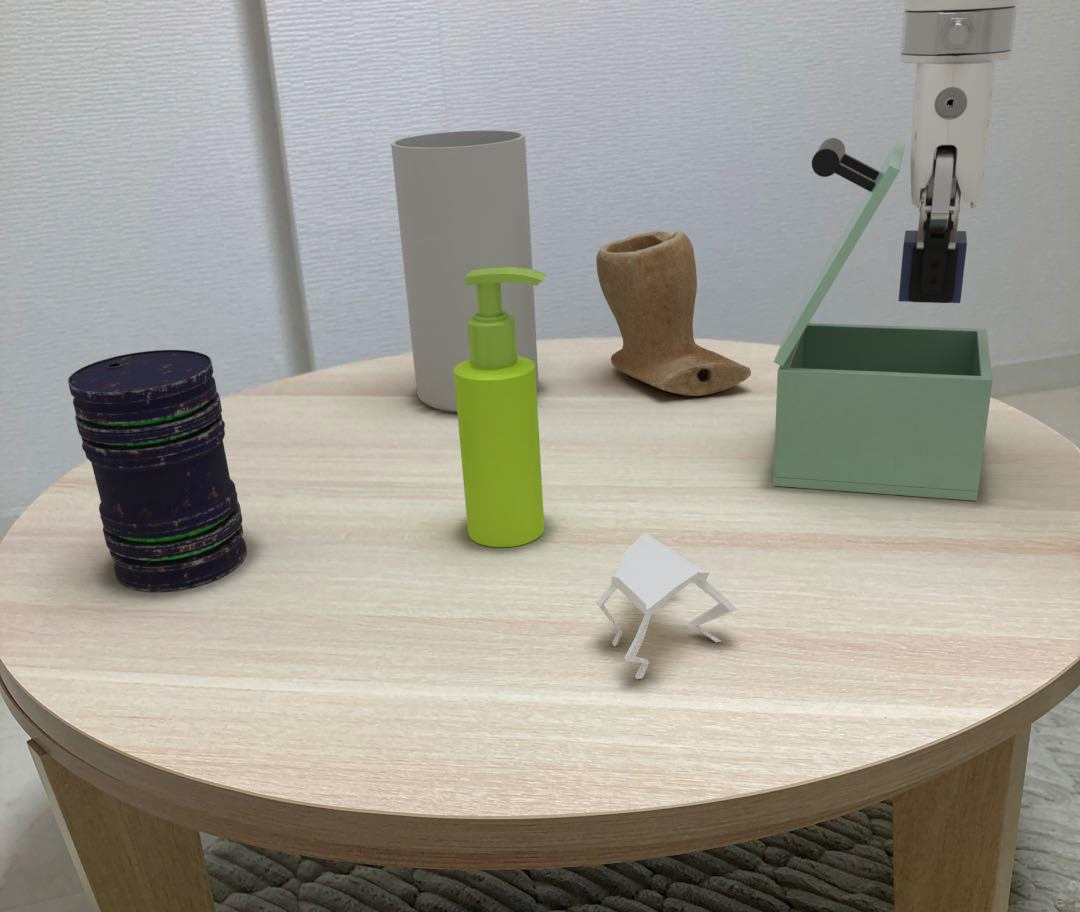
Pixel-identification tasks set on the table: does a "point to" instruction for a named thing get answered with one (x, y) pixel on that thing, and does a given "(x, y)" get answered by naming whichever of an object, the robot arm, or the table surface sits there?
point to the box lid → (824, 165)
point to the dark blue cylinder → (160, 468)
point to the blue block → (908, 246)
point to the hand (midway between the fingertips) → (930, 290)
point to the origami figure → (658, 588)
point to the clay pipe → (660, 315)
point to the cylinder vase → (461, 244)
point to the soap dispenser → (499, 420)
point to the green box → (884, 410)
